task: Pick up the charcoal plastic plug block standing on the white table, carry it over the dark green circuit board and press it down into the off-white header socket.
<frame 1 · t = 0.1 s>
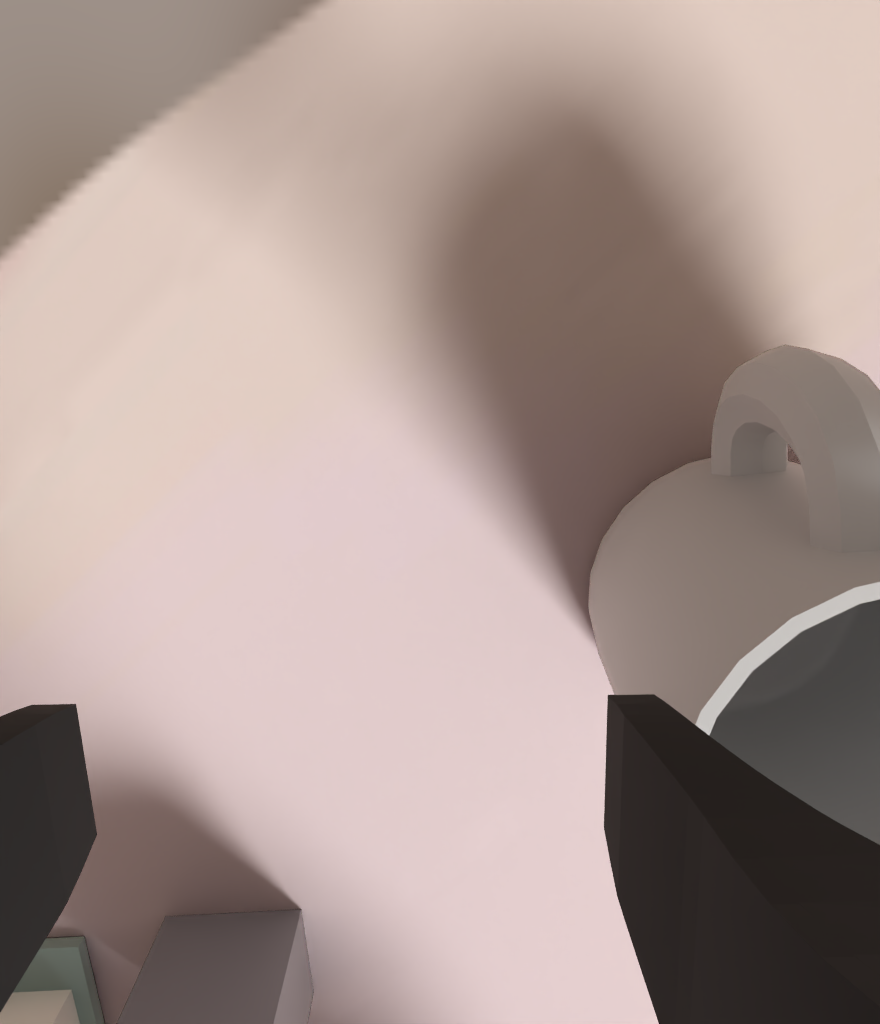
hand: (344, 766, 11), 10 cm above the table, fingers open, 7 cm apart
cup: (721, 532, 21), on the table
plug: (240, 954, 24), on the table
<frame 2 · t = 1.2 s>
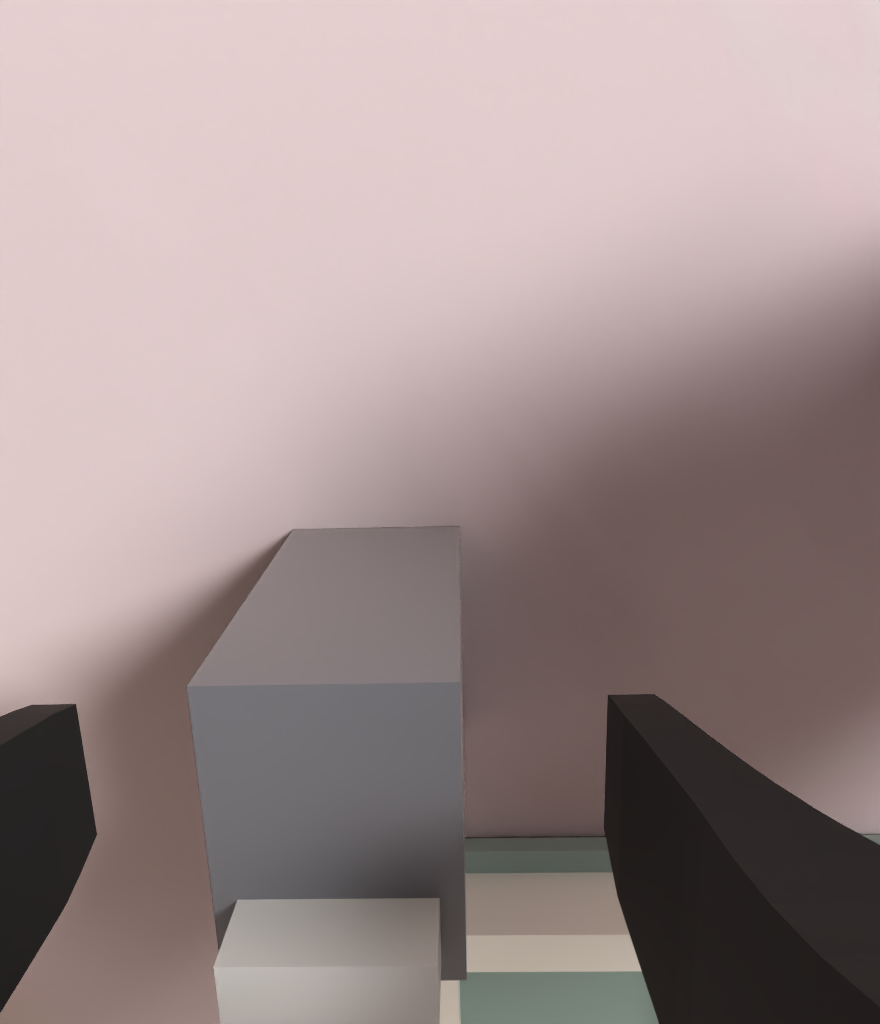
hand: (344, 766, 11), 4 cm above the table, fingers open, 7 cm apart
plug: (381, 630, 15), on the table
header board: (634, 1017, 17), on the table
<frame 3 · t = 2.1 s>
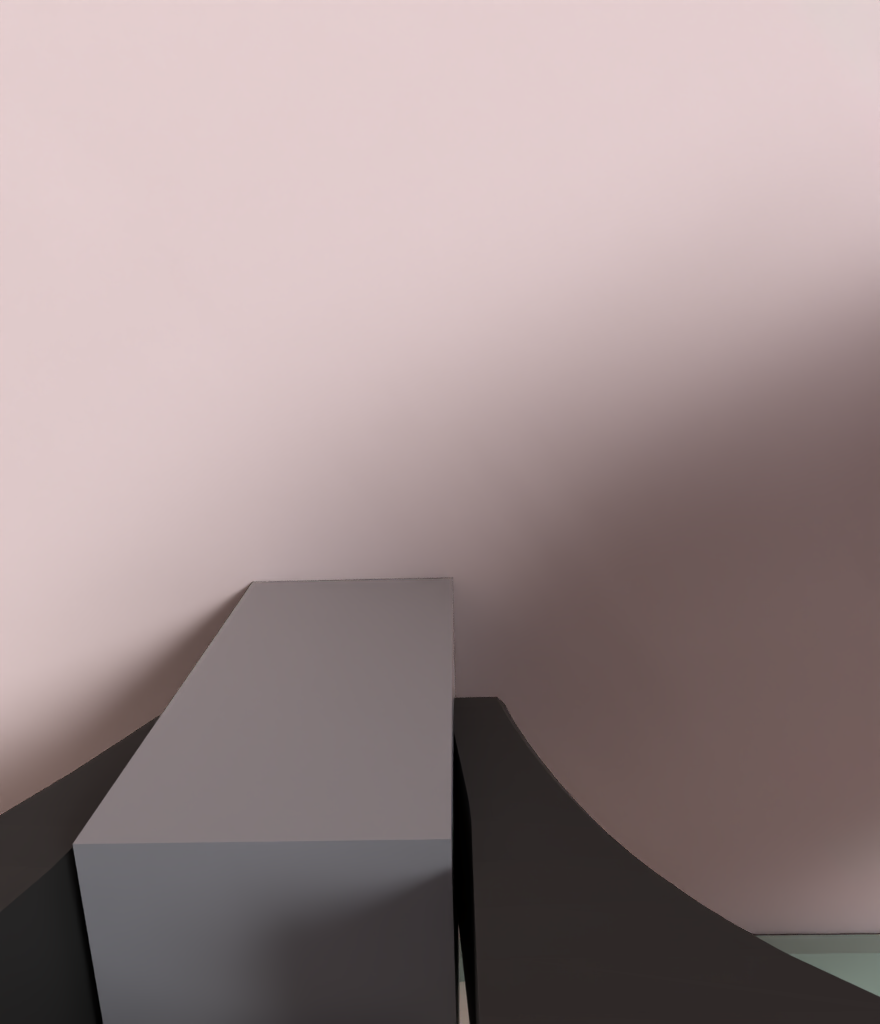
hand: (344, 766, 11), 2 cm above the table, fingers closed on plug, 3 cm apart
plug: (359, 700, 13), on the table, touching gripper
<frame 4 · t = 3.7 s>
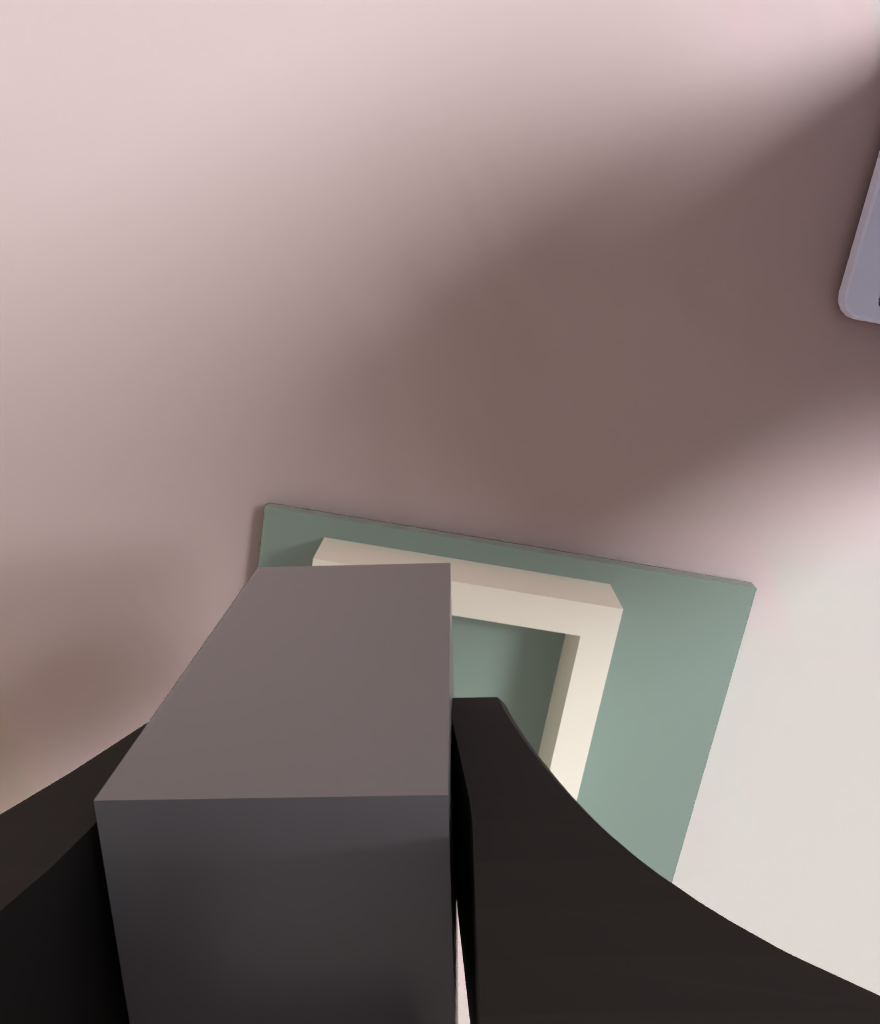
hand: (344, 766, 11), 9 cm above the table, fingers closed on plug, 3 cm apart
plug: (360, 682, 13), point 7 cm above the table, touching gripper
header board: (478, 706, 21), on the table
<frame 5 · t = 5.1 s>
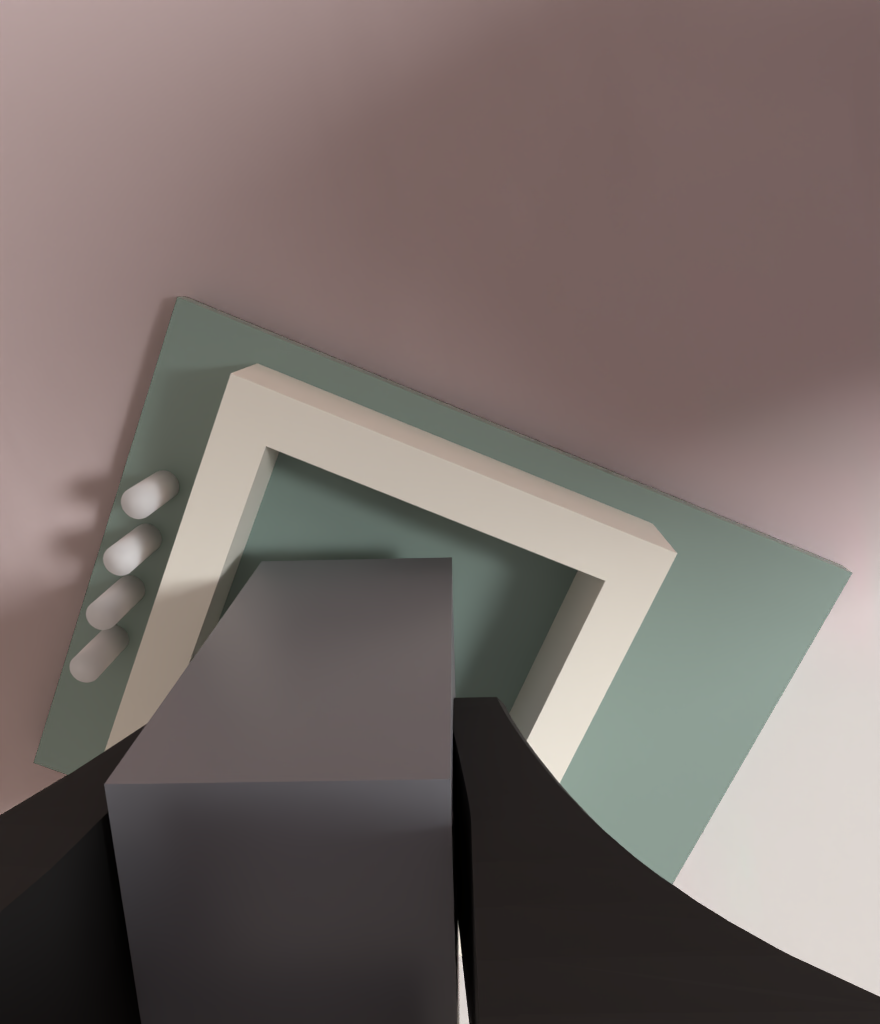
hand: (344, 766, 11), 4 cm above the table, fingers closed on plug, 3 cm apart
plug: (363, 675, 13), point 1 cm above the table, touching gripper
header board: (425, 662, 15), on the table
when the fingers open (3 cm above the table, at t = 5.6 s): plug stays where it is, resting on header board.
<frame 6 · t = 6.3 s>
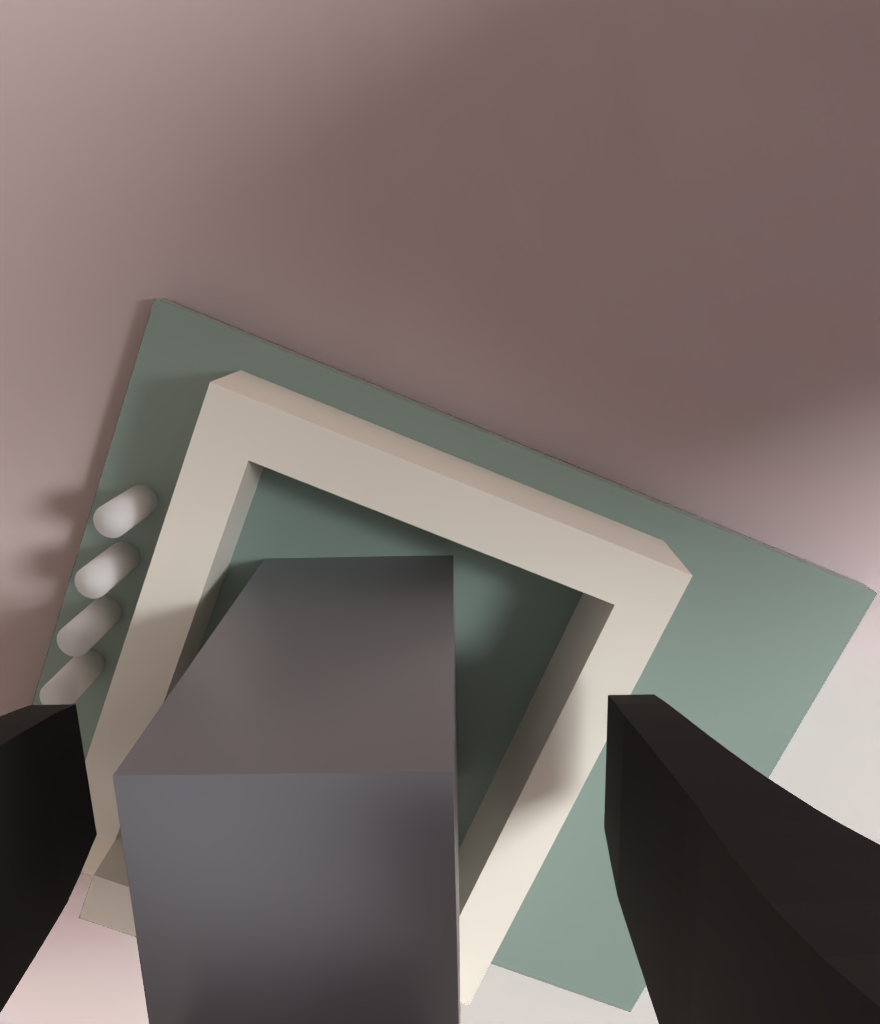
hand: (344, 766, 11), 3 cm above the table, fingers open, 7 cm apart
plug: (365, 671, 13), resting on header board
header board: (421, 687, 14), on the table
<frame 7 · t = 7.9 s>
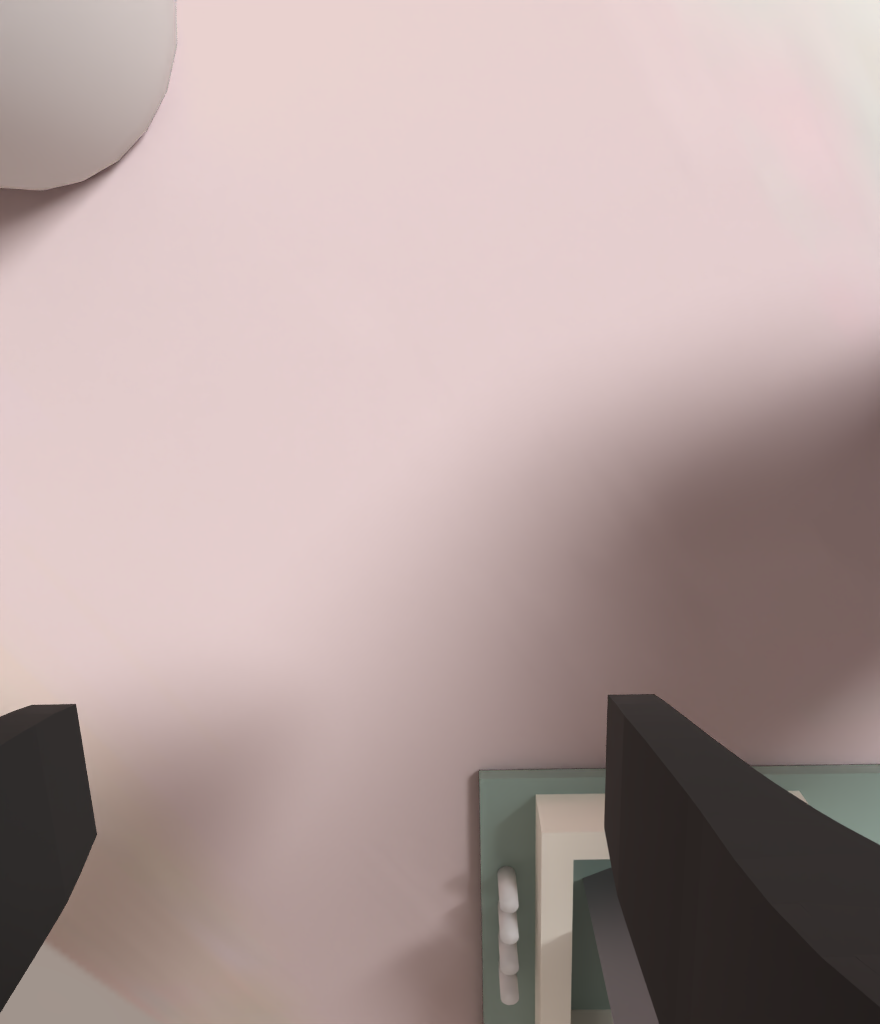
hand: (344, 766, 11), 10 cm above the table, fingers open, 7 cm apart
plug: (659, 914, 23), resting on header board
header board: (692, 906, 23), on the table
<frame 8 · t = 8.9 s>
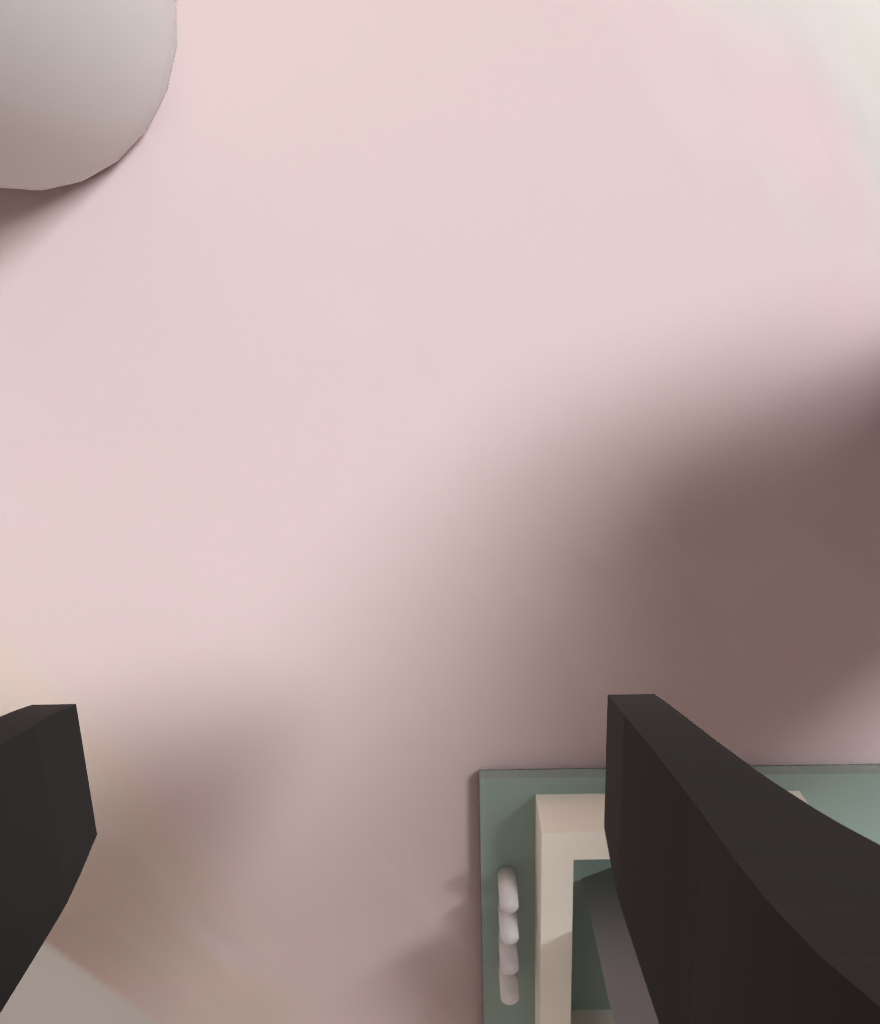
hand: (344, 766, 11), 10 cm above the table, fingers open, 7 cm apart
plug: (659, 914, 23), resting on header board
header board: (692, 906, 23), on the table
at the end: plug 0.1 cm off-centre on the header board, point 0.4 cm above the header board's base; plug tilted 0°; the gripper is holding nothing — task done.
